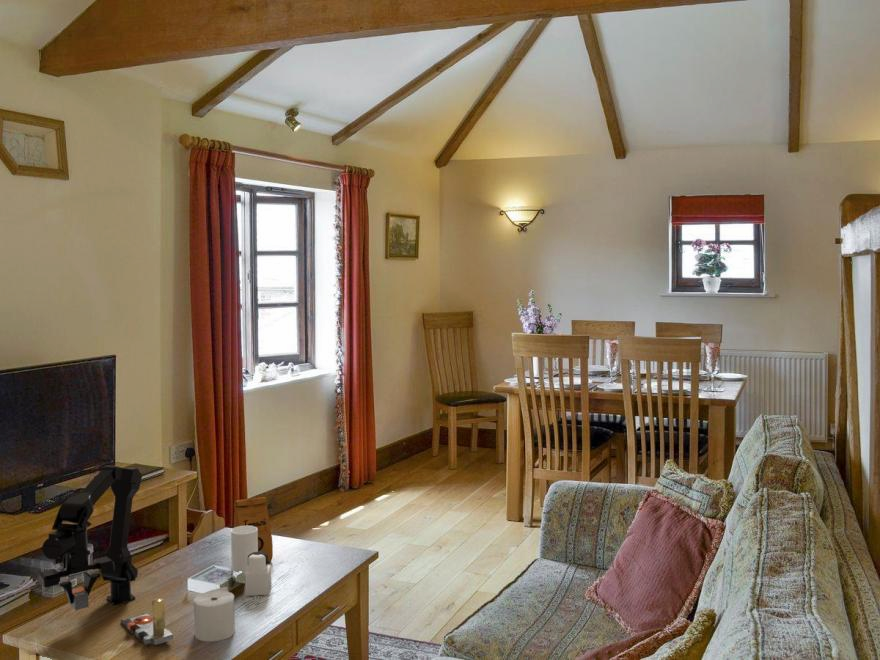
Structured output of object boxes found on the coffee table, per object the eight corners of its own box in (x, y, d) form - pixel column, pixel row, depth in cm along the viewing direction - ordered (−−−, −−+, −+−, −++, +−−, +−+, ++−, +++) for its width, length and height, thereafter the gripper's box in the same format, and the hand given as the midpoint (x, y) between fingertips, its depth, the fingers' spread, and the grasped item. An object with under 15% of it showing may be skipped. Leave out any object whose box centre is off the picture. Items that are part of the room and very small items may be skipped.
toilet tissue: (197, 645, 224) (196, 609, 223) (191, 626, 235) (190, 592, 234) (238, 638, 229) (237, 602, 228) (230, 620, 240) (229, 586, 239)
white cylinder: (251, 584, 265) (251, 534, 264) (227, 582, 267) (226, 533, 265) (262, 574, 273) (261, 526, 272) (238, 572, 275) (237, 524, 273)
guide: (120, 623, 237) (120, 619, 237) (143, 616, 242) (143, 613, 242) (146, 645, 224) (146, 642, 224) (170, 638, 228) (170, 634, 228)
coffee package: (274, 564, 282) (273, 500, 280) (236, 569, 277) (235, 504, 275) (269, 554, 291) (268, 492, 289) (232, 559, 287) (231, 496, 284)
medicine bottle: (248, 587, 263) (247, 549, 262) (271, 586, 264) (270, 549, 262) (244, 596, 256) (244, 558, 255) (268, 595, 257) (268, 557, 255)
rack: (124, 625, 233) (122, 588, 232) (147, 618, 238) (146, 582, 237) (148, 646, 220) (147, 608, 220) (173, 639, 225) (172, 601, 224)
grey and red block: (68, 603, 235) (68, 588, 234) (81, 599, 237) (81, 585, 237) (75, 610, 230) (74, 595, 230) (88, 606, 232) (88, 592, 232)
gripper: (100, 531, 244) (102, 584, 246) (31, 546, 232) (33, 601, 233) (114, 541, 236) (116, 595, 237) (43, 557, 224) (46, 614, 225)
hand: (78, 601), depth 234 cm, fingers closed on grey and red block, 3 cm apart
